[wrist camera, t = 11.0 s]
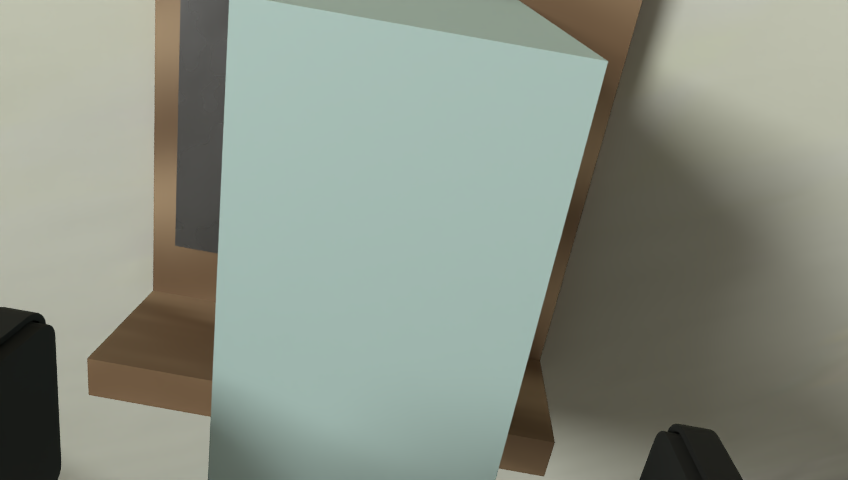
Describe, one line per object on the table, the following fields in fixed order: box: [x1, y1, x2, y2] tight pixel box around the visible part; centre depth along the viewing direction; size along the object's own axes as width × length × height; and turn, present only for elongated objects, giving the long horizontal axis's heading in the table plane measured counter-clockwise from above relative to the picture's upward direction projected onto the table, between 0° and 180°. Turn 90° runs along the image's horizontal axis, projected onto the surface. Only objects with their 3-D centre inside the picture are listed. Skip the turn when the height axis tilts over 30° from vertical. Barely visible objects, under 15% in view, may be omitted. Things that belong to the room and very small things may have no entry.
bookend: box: [175, 0, 229, 253], centre depth 21 cm, size 10×5×6 cm, turn 170°
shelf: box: [87, 0, 642, 476], centre depth 22 cm, size 17×16×6 cm
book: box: [208, 0, 608, 480], centre depth 17 cm, size 12×4×15 cm, turn 171°
